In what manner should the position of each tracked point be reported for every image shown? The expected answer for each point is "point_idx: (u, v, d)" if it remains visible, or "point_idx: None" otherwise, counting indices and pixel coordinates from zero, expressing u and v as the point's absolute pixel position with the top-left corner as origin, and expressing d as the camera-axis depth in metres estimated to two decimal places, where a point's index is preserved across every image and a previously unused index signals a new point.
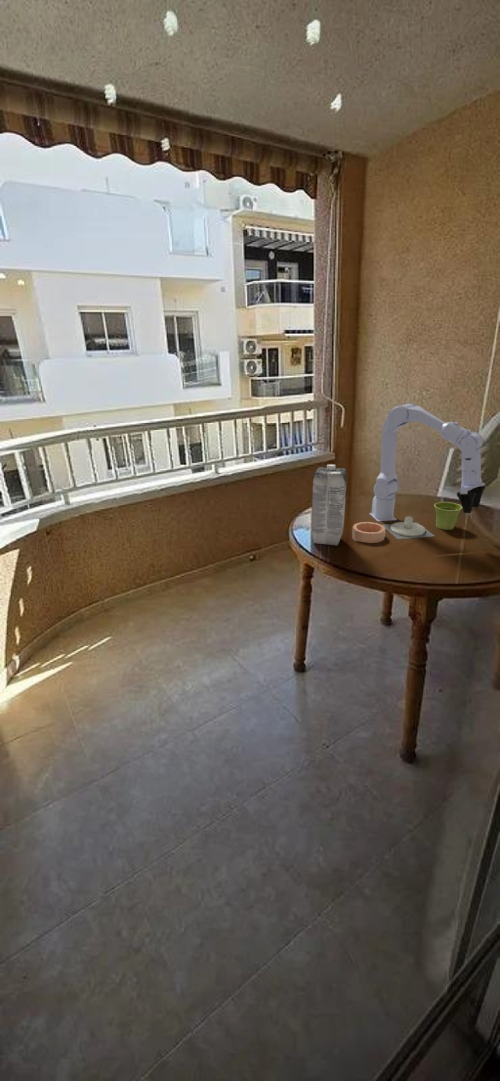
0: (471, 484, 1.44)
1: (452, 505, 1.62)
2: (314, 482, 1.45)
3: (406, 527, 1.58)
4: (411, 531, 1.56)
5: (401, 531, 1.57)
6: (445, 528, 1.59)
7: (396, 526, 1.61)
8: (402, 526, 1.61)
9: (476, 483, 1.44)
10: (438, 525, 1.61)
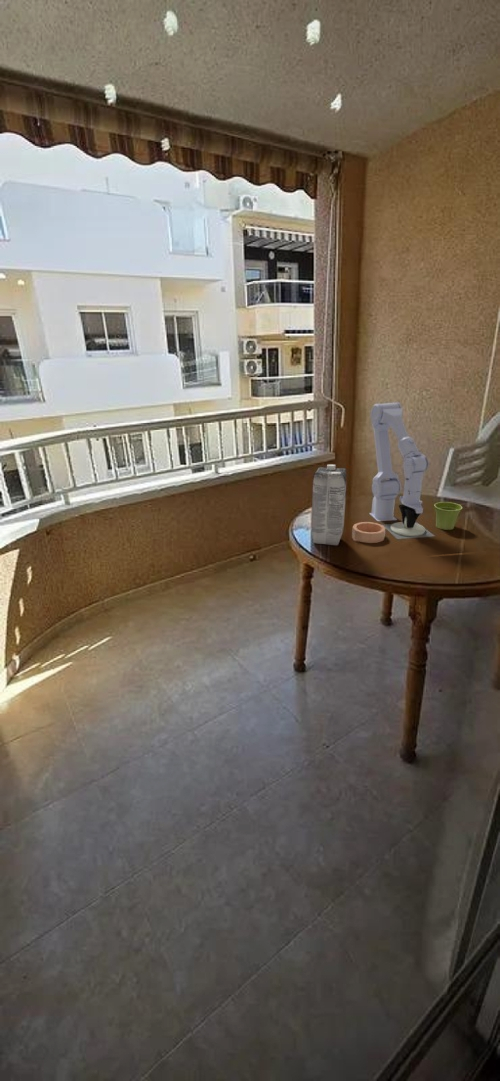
0: (417, 503, 1.53)
1: (452, 505, 1.62)
2: (314, 482, 1.45)
3: (406, 527, 1.58)
4: (411, 531, 1.56)
5: (401, 531, 1.57)
6: (445, 528, 1.59)
7: (396, 526, 1.61)
8: (402, 526, 1.61)
9: (419, 501, 1.54)
10: (438, 525, 1.61)
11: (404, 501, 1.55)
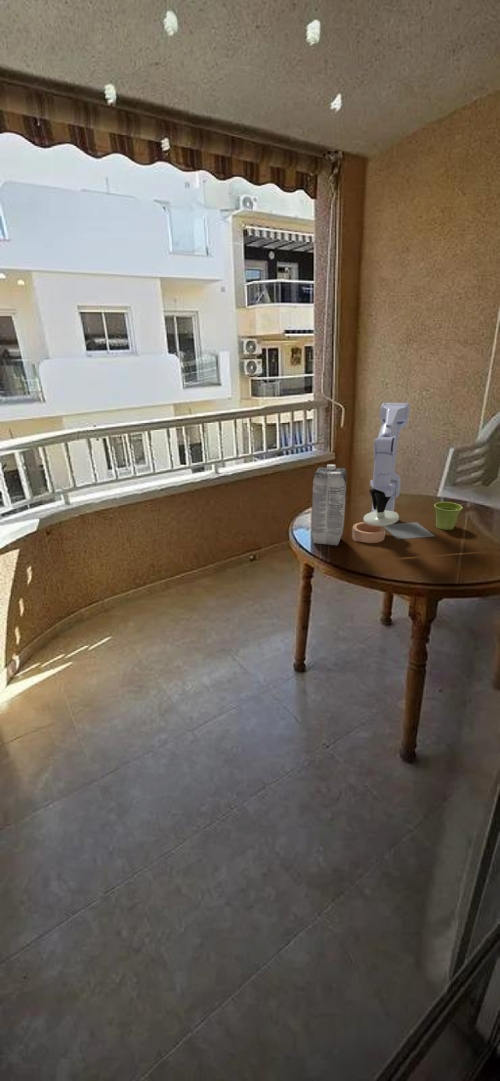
0: (387, 486, 1.47)
1: (452, 505, 1.62)
2: (314, 482, 1.45)
3: (379, 516, 1.53)
4: (384, 520, 1.51)
5: (374, 521, 1.51)
6: (445, 528, 1.59)
7: (369, 516, 1.56)
8: (375, 516, 1.55)
9: (389, 485, 1.48)
10: (438, 525, 1.61)
11: (374, 484, 1.48)
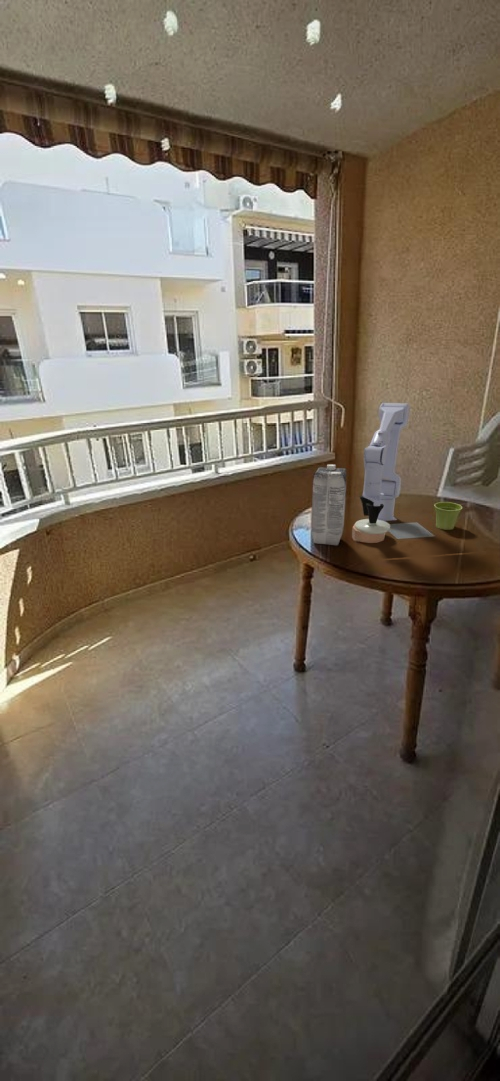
0: (376, 495, 1.47)
1: (452, 505, 1.62)
2: (314, 482, 1.45)
3: (370, 524, 1.53)
4: (374, 528, 1.51)
5: (364, 528, 1.51)
6: (445, 528, 1.59)
7: (361, 523, 1.56)
8: (367, 523, 1.55)
9: (379, 494, 1.48)
10: (438, 525, 1.61)
11: (364, 493, 1.49)
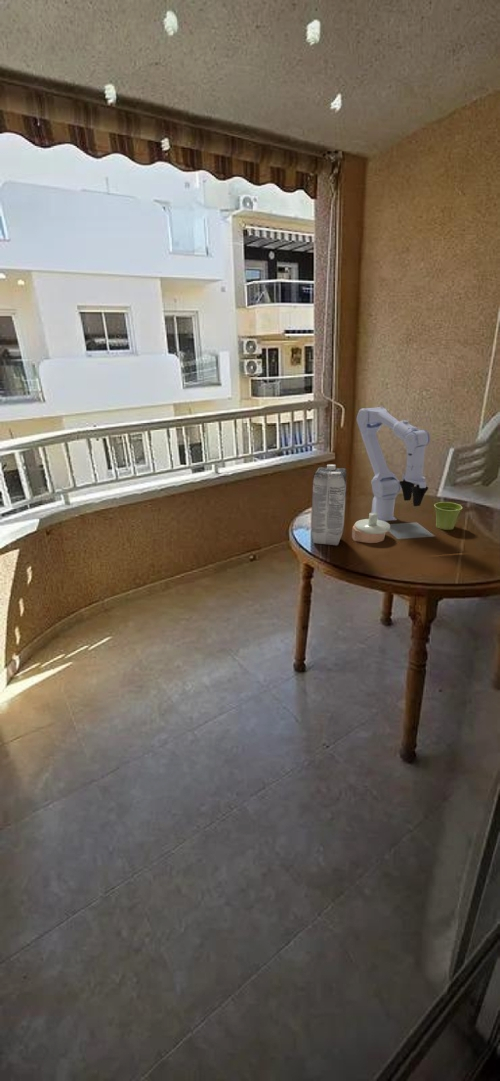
0: (420, 478, 1.52)
1: (452, 505, 1.62)
2: (314, 482, 1.45)
3: (370, 524, 1.53)
4: (374, 528, 1.51)
5: (364, 528, 1.51)
6: (445, 528, 1.59)
7: (361, 523, 1.56)
8: (367, 523, 1.55)
9: (422, 477, 1.53)
10: (438, 525, 1.61)
11: (407, 477, 1.54)
